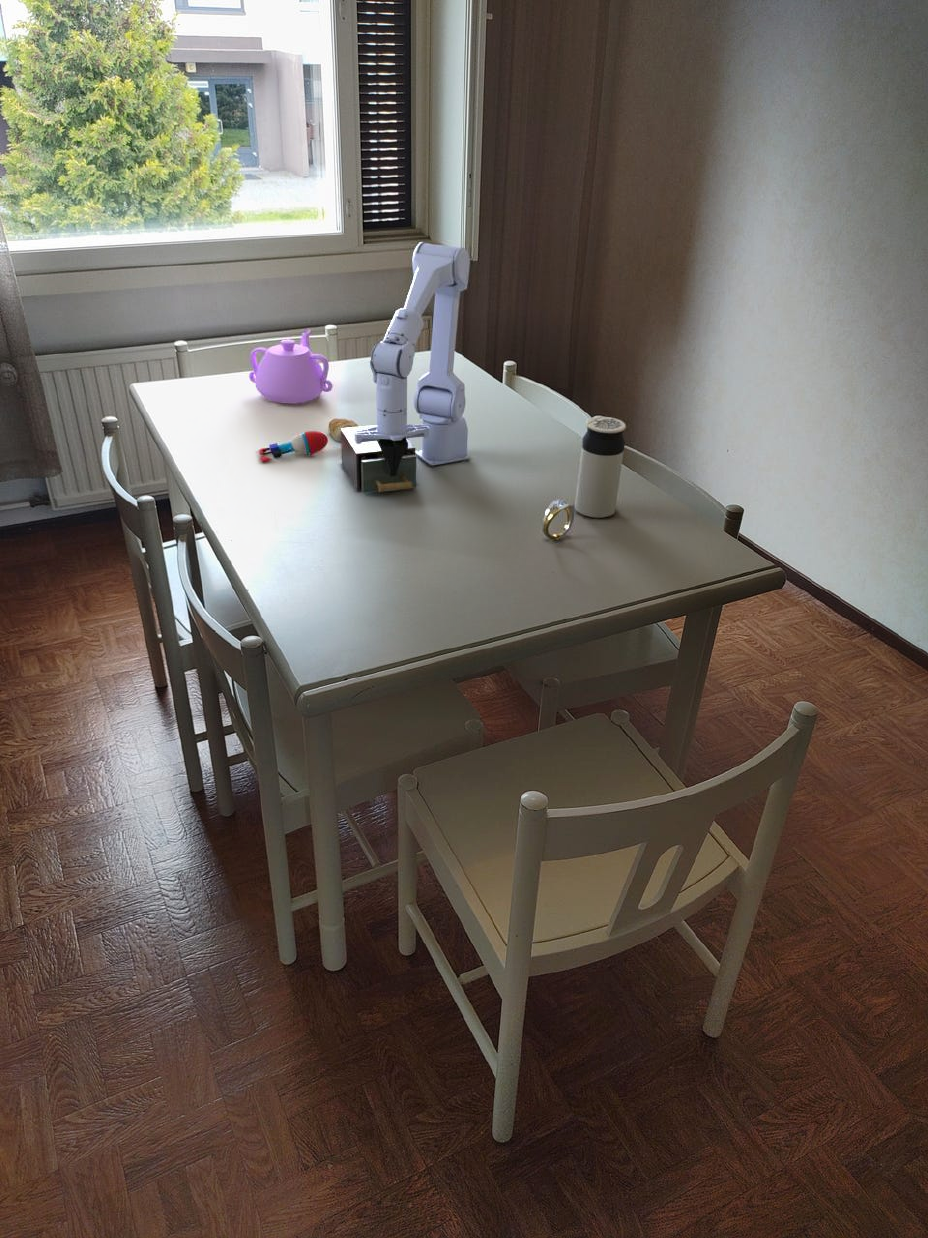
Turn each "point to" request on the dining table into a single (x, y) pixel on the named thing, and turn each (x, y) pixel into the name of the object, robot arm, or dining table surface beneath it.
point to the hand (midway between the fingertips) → (392, 473)
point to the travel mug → (600, 467)
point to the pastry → (339, 427)
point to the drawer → (386, 473)
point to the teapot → (290, 372)
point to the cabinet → (359, 452)
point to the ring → (547, 519)
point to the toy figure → (297, 445)
